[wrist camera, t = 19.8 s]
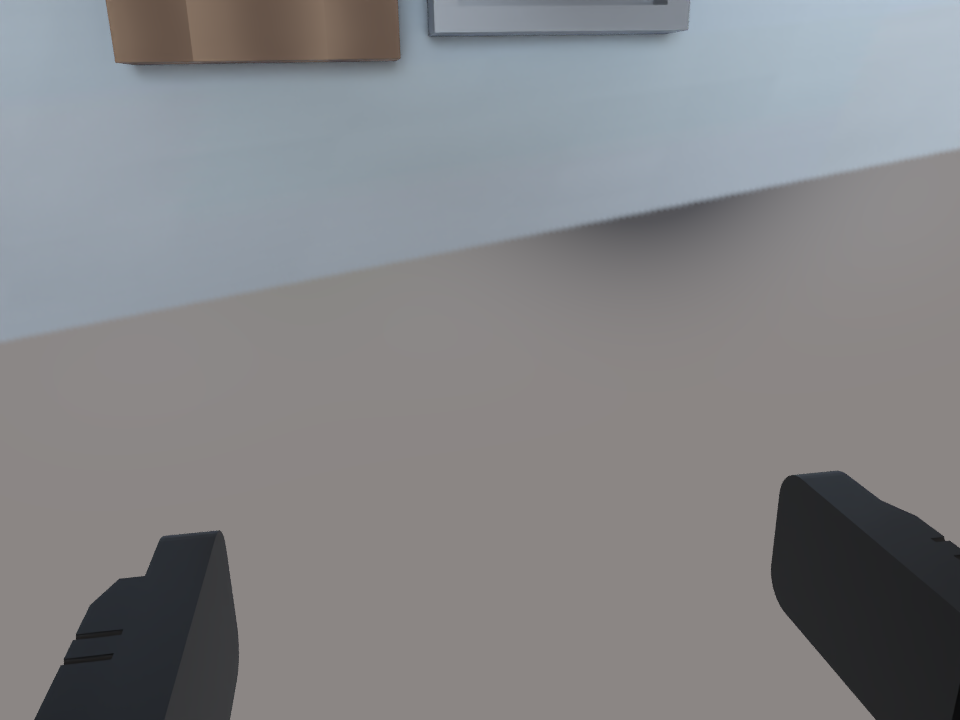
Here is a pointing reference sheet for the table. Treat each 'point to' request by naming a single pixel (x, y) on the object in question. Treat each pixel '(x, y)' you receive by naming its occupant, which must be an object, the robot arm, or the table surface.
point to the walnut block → (253, 31)
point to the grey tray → (556, 17)
